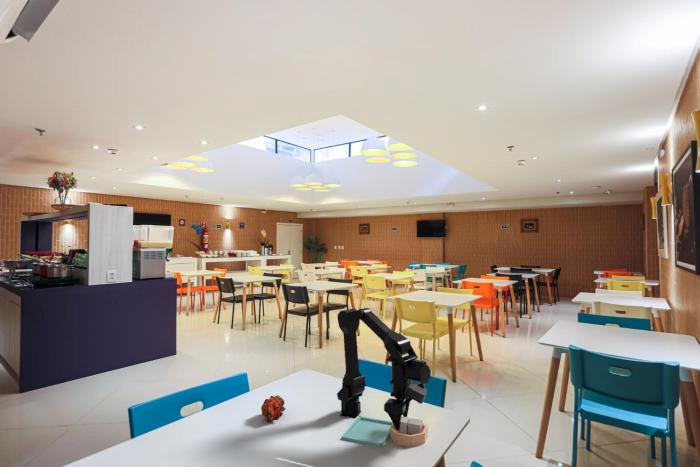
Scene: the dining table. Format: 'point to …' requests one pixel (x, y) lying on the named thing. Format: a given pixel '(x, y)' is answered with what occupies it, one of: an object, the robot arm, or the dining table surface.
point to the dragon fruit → (273, 408)
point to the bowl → (409, 437)
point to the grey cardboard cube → (403, 425)
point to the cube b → (415, 426)
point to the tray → (368, 431)
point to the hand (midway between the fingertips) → (401, 423)
